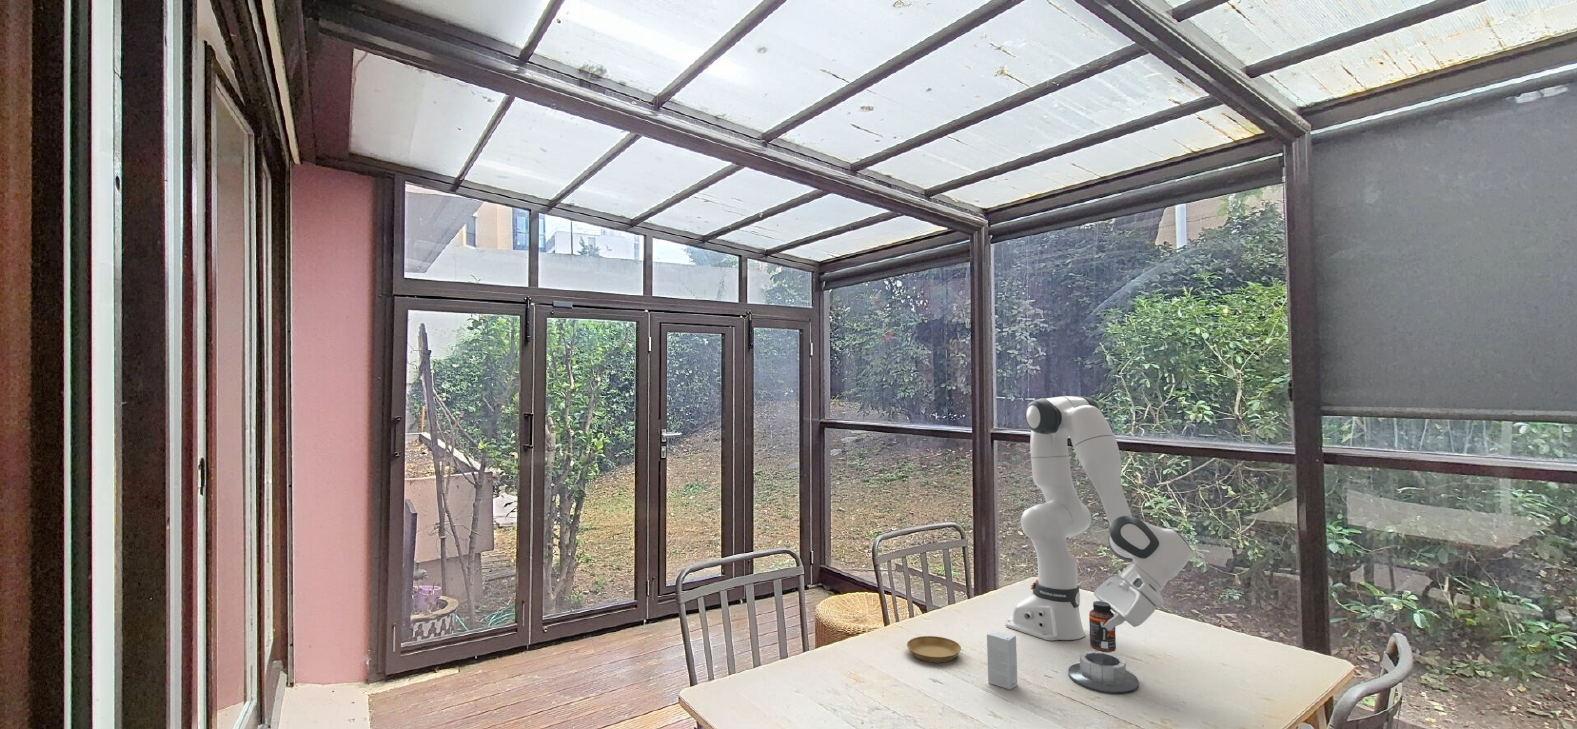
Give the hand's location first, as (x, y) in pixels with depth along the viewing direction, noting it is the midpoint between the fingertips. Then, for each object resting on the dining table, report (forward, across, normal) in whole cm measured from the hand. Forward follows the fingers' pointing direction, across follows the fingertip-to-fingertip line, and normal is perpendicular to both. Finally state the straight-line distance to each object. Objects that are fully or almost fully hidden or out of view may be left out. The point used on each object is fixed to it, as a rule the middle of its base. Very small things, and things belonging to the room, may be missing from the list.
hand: (1099, 623), depth 165 cm
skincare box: (+28, +4, -8) cm, 29 cm away
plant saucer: (+38, -14, -18) cm, 44 cm away
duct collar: (+10, 0, +10) cm, 14 cm away
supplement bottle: (+4, 0, +5) cm, 7 cm away
